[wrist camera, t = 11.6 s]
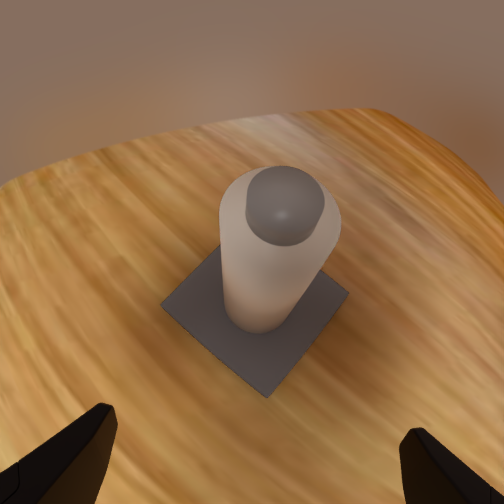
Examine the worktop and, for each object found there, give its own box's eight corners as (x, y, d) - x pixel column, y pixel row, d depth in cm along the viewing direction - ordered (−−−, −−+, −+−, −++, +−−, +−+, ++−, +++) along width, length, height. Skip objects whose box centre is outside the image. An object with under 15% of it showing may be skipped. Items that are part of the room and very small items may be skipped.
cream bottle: (302, 314, 23) (375, 225, 11) (242, 345, 22) (258, 282, 10) (270, 260, 24) (305, 134, 13) (212, 286, 23) (197, 170, 12)
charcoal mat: (346, 295, 24) (349, 292, 24) (266, 398, 21) (267, 398, 20) (249, 219, 27) (249, 215, 26) (161, 307, 23) (160, 304, 22)
